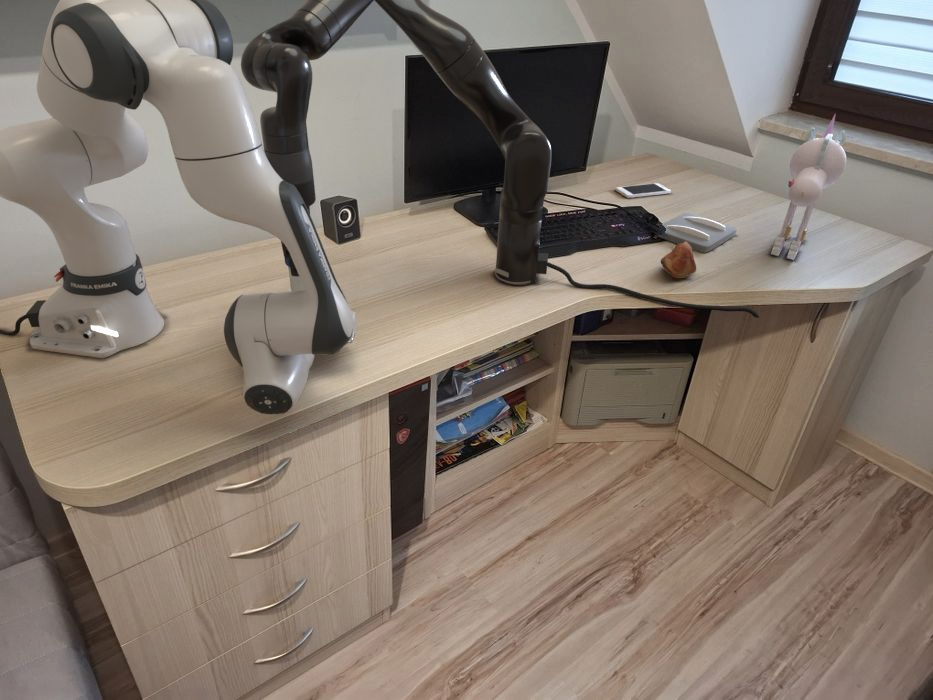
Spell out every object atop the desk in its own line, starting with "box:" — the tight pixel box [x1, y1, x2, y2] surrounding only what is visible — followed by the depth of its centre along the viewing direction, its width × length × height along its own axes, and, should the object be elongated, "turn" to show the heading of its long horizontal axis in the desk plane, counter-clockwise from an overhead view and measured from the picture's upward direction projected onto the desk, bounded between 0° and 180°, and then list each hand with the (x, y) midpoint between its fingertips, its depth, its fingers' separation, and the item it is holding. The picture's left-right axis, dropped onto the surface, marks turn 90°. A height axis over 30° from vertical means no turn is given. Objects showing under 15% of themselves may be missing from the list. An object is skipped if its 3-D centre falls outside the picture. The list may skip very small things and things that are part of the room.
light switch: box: [654, 212, 737, 253], centre depth 167 cm, size 18×3×15 cm
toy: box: [770, 112, 847, 261], centre depth 159 cm, size 12×36×30 cm, turn 148°
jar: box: [287, 266, 305, 291], centre depth 117 cm, size 4×4×16 cm
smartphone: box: [615, 182, 672, 199], centre depth 194 cm, size 7×16×1 cm, turn 111°
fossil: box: [660, 241, 697, 279], centre depth 147 cm, size 13×8×10 cm
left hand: (306, 303), depth 119 cm, fingers closed on jar, 4 cm apart
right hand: (301, 267), depth 114 cm, fingers closed on lid, 5 cm apart
